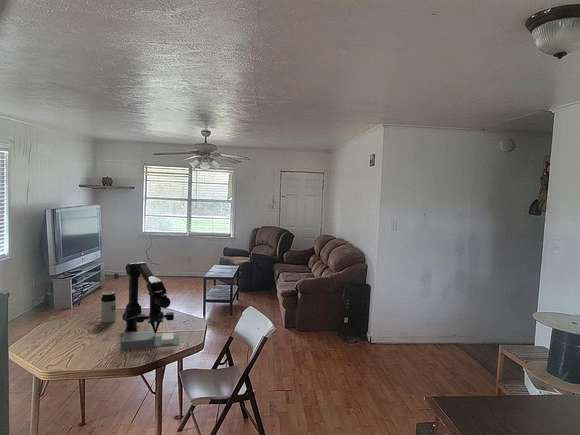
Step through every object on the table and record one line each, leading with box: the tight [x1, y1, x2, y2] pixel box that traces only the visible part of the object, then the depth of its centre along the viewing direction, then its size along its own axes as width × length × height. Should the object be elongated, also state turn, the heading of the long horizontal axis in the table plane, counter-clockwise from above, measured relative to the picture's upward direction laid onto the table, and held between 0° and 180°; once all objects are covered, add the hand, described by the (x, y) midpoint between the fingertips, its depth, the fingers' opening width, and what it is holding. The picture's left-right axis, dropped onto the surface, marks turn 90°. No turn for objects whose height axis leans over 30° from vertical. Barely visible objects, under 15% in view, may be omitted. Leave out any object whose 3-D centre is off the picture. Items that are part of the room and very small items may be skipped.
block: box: [161, 332, 175, 344], centre depth 206 cm, size 9×6×2 cm, turn 17°
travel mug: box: [100, 290, 117, 324], centre depth 235 cm, size 8×8×18 cm
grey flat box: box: [120, 330, 156, 351], centre depth 201 cm, size 13×16×4 cm
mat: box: [154, 334, 180, 348], centre depth 206 cm, size 14×12×1 cm
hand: (155, 332), depth 204 cm, fingers closed
